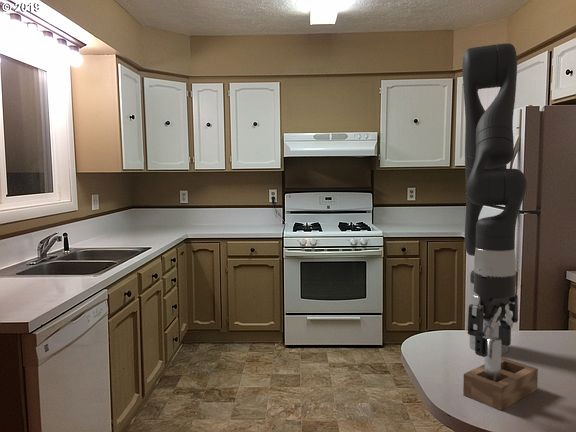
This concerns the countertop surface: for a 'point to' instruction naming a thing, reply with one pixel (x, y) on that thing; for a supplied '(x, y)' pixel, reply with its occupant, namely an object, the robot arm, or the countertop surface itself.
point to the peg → (493, 359)
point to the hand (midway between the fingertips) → (493, 349)
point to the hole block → (501, 384)
